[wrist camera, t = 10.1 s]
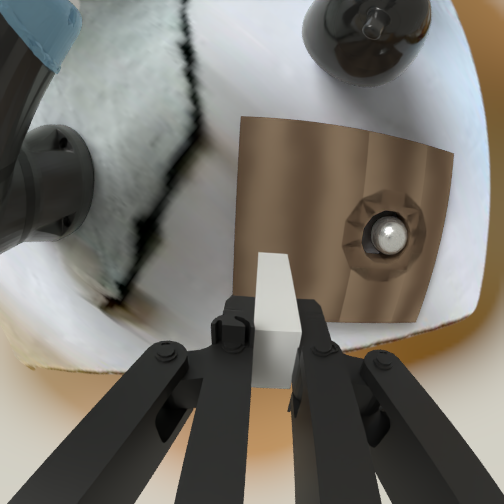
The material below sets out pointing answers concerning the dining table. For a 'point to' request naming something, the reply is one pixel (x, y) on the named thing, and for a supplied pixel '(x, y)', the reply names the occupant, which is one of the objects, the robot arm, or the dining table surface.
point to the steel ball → (389, 235)
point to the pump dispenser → (366, 37)
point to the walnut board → (339, 214)
